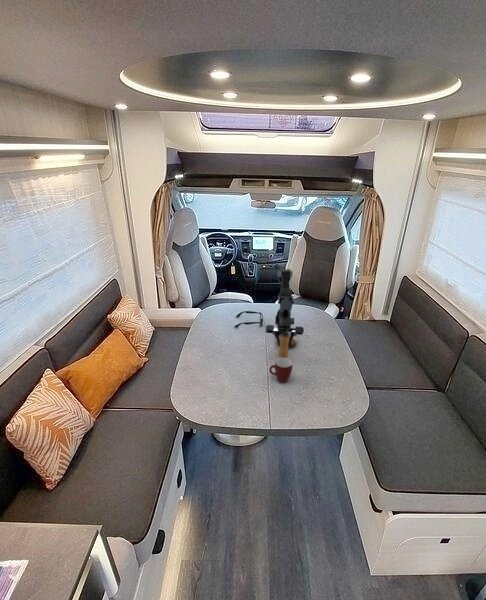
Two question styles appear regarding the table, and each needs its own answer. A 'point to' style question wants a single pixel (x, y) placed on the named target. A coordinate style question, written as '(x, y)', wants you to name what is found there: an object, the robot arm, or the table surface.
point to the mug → (282, 369)
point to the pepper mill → (283, 345)
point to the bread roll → (291, 342)
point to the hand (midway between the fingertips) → (284, 346)
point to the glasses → (249, 322)
